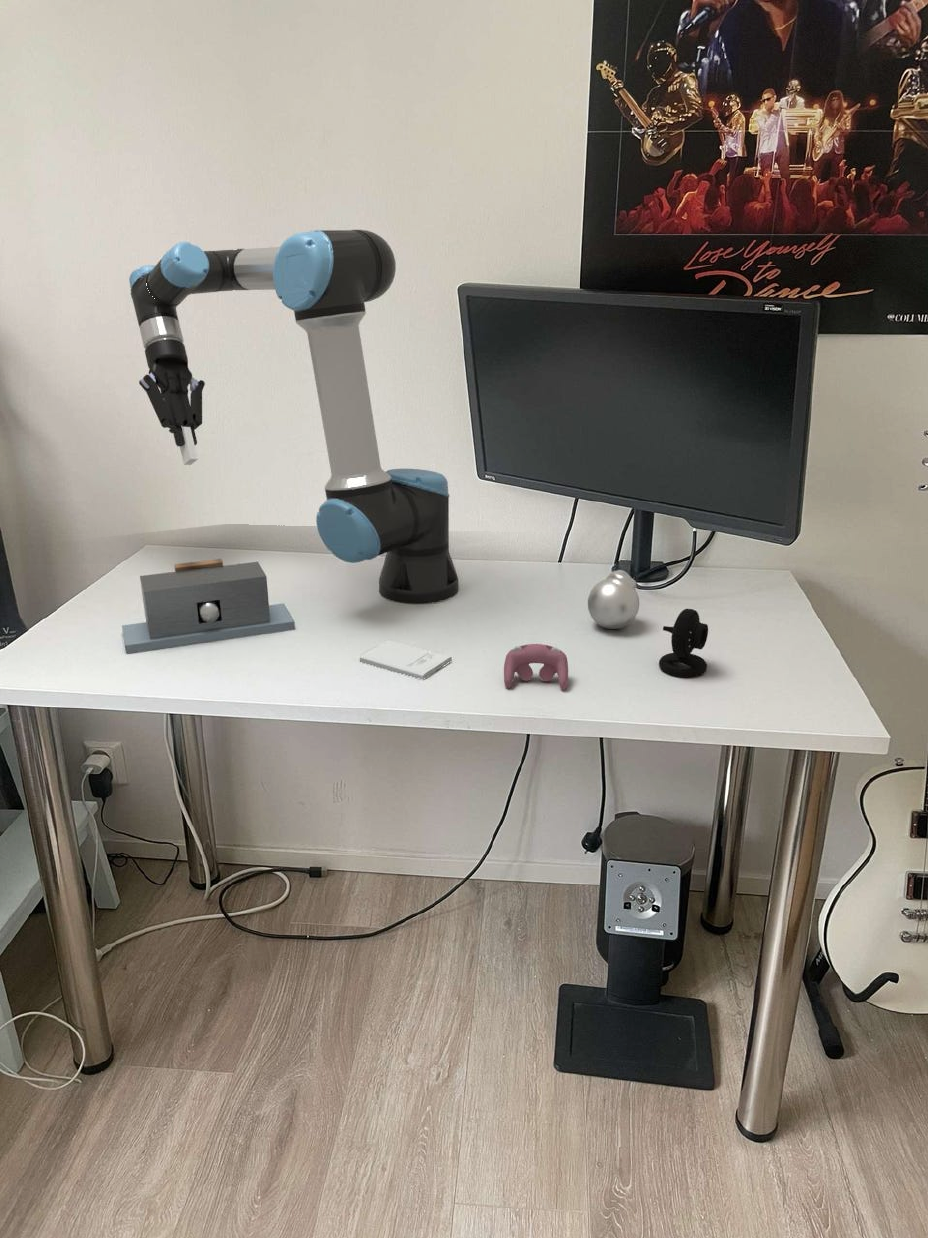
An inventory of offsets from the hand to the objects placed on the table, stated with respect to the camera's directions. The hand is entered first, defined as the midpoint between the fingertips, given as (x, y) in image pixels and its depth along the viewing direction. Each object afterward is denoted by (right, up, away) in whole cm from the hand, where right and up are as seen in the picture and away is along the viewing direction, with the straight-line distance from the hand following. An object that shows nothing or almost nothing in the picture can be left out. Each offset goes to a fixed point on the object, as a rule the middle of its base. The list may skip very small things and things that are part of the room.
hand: (190, 461), depth 190 cm
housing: (+7, -32, -15) cm, 36 cm away
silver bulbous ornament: (+77, -31, -14) cm, 85 cm away
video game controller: (+62, -40, -34) cm, 81 cm away
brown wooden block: (+7, -31, -14) cm, 35 cm away
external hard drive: (+42, -37, -27) cm, 62 cm away
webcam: (+86, -38, -30) cm, 99 cm away
